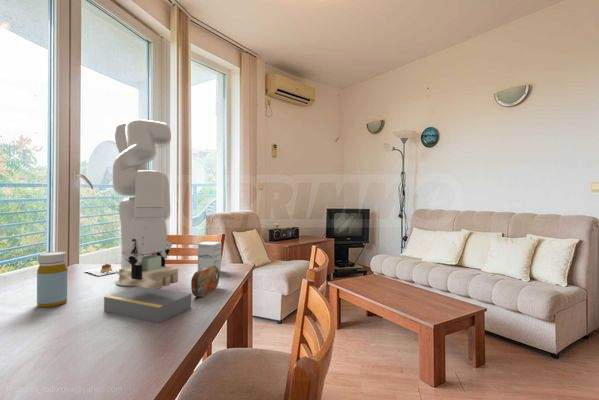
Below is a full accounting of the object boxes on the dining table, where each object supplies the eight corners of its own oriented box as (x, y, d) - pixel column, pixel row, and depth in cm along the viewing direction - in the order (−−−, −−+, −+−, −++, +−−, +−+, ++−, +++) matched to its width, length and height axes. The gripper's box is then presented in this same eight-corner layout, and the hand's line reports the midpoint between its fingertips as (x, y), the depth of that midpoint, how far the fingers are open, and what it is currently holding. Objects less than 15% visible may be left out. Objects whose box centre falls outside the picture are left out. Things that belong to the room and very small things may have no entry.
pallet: (119, 283, 87) (119, 269, 87) (141, 276, 94) (141, 263, 94) (157, 289, 82) (157, 274, 82) (177, 281, 89) (177, 268, 89)
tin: (198, 300, 97) (198, 273, 97) (189, 299, 97) (189, 273, 97) (219, 286, 111) (220, 263, 111) (211, 286, 112) (212, 263, 112)
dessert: (97, 278, 121) (98, 266, 121) (83, 273, 128) (83, 262, 128) (128, 272, 132) (128, 260, 132) (114, 268, 138) (114, 257, 138)
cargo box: (135, 269, 87) (135, 257, 87) (148, 266, 91) (148, 254, 91) (148, 271, 85) (148, 258, 85) (161, 267, 89) (161, 255, 89)
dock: (104, 311, 86) (104, 296, 86) (140, 298, 98) (140, 285, 98) (158, 323, 79) (159, 307, 79) (191, 307, 90) (191, 293, 90)
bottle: (72, 301, 94) (73, 252, 93) (47, 309, 87) (47, 256, 87) (57, 298, 96) (57, 250, 96) (31, 306, 89) (31, 254, 89)
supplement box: (196, 273, 129) (197, 243, 129) (206, 269, 136) (206, 241, 136) (213, 275, 127) (213, 244, 127) (221, 270, 134) (221, 241, 134)
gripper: (162, 212, 98) (162, 268, 98) (111, 214, 81) (111, 281, 81) (181, 212, 95) (181, 270, 95) (132, 215, 79) (132, 285, 79)
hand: (148, 275), depth 88 cm, fingers closed on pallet, 7 cm apart
